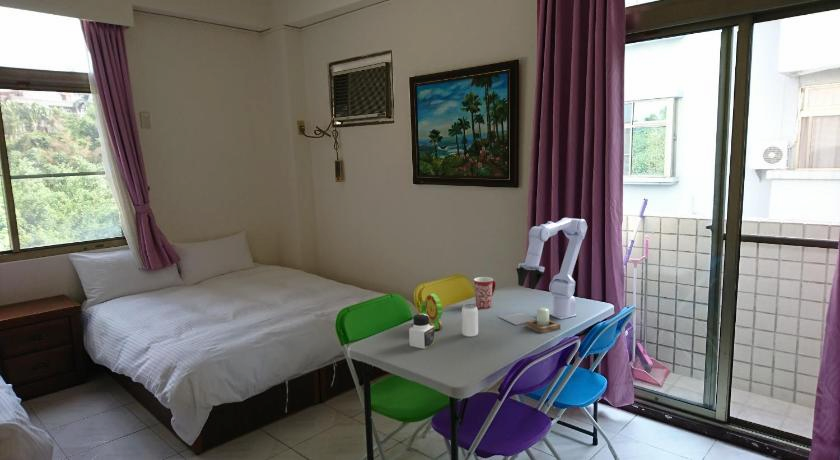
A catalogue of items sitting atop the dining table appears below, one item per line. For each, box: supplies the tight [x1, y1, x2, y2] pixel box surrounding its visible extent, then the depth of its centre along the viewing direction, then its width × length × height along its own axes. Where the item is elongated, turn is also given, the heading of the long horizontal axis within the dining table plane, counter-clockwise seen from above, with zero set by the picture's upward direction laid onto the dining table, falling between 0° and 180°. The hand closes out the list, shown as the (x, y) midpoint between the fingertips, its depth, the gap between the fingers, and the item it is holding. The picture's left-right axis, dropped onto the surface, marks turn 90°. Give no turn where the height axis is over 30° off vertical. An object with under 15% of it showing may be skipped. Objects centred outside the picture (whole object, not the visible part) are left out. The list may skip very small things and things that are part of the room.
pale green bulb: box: [536, 307, 550, 327], centre depth 216 cm, size 5×5×8 cm
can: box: [461, 303, 479, 338], centre depth 211 cm, size 6×6×12 cm
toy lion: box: [420, 293, 444, 331], centre depth 220 cm, size 16×6×15 cm, turn 27°
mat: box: [498, 311, 537, 326], centre depth 228 cm, size 12×12×1 cm
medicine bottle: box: [408, 313, 435, 350], centre depth 201 cm, size 7×7×12 cm
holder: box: [525, 318, 561, 334], centre depth 217 cm, size 10×10×2 cm
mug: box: [473, 276, 496, 310], centre depth 248 cm, size 13×9×14 cm
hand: (526, 287), depth 213 cm, fingers open, 7 cm apart
